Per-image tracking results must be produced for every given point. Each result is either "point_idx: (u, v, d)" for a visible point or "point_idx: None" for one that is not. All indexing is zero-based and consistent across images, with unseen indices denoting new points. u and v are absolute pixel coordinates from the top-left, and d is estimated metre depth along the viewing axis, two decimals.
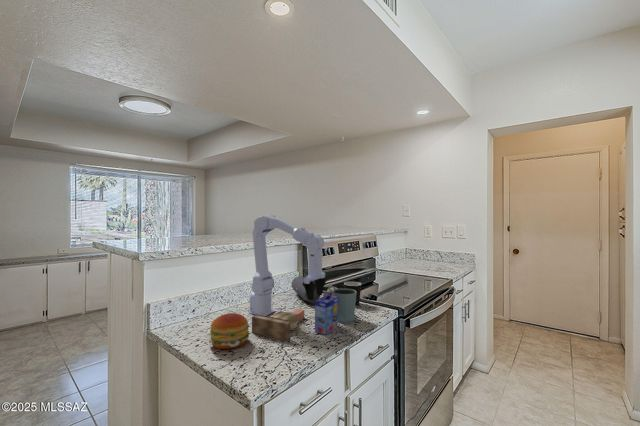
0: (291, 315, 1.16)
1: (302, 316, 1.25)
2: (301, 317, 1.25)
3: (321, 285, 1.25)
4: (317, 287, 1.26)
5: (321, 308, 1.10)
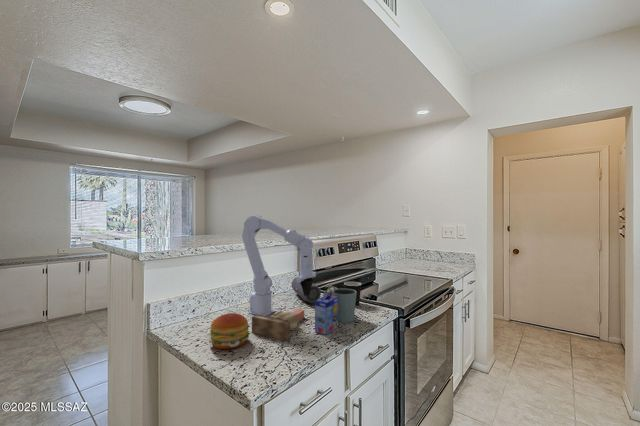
0: (291, 315, 1.16)
1: (302, 316, 1.26)
2: (301, 317, 1.25)
3: None
4: None
5: (321, 308, 1.10)
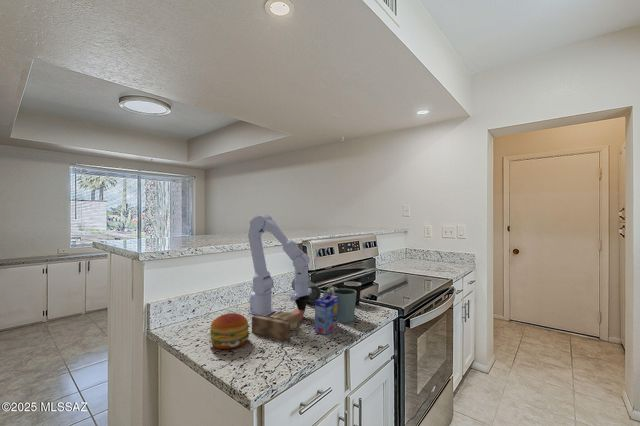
0: (291, 315, 1.16)
1: (301, 316, 1.25)
2: (300, 317, 1.24)
3: None
4: None
5: (321, 308, 1.10)
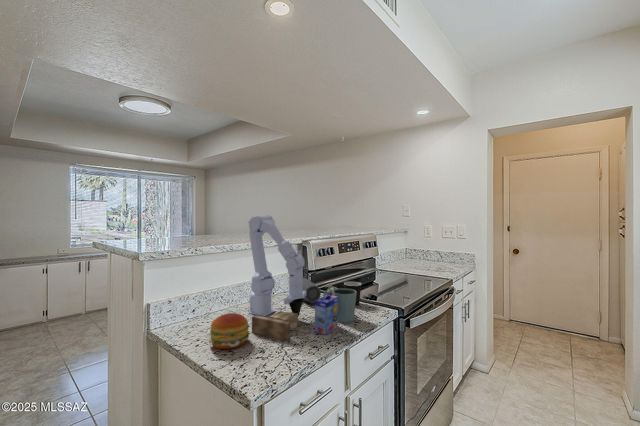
0: (291, 315, 1.16)
1: None
2: None
3: None
4: None
5: (321, 308, 1.10)
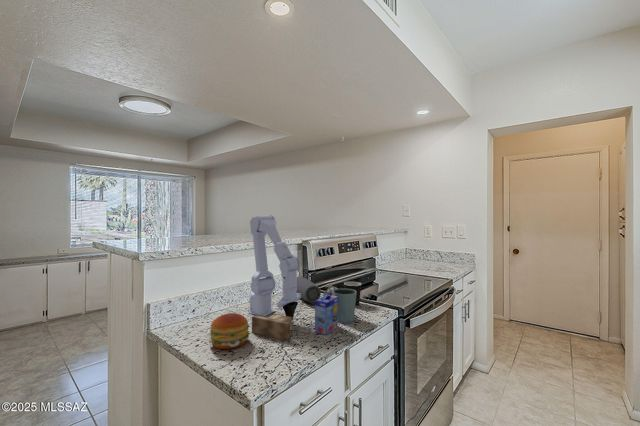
0: (285, 318, 1.12)
1: None
2: None
3: None
4: None
5: (321, 308, 1.10)
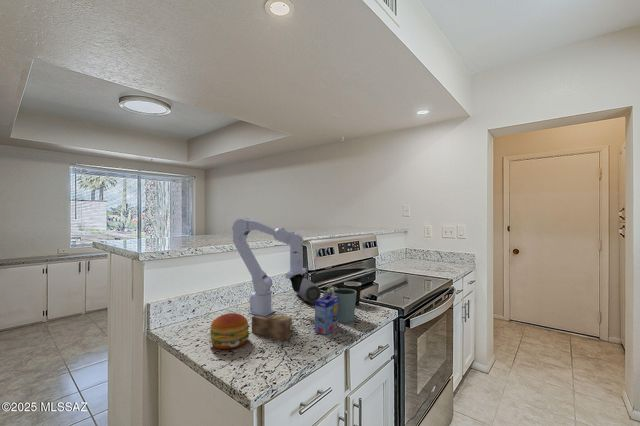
0: (285, 318, 1.12)
1: None
2: None
3: None
4: None
5: (321, 308, 1.10)
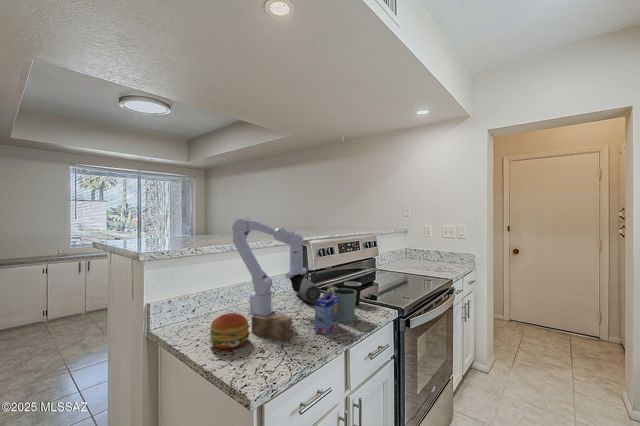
0: (285, 318, 1.12)
1: None
2: None
3: None
4: None
5: (321, 308, 1.10)
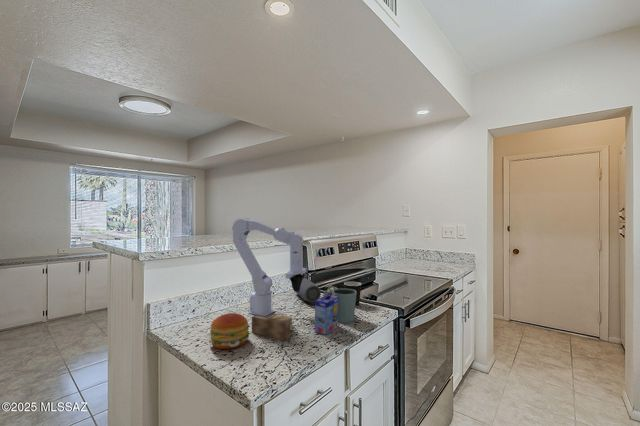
0: (285, 318, 1.12)
1: None
2: None
3: None
4: None
5: (321, 308, 1.10)
